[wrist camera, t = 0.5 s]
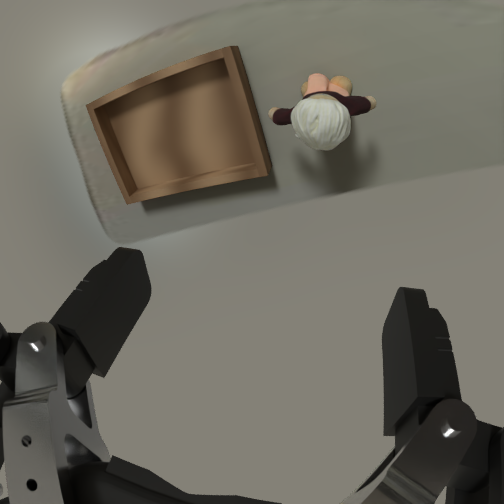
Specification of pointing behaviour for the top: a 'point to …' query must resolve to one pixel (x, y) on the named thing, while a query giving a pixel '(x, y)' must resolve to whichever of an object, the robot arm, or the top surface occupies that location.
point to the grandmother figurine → (323, 111)
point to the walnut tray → (182, 128)
